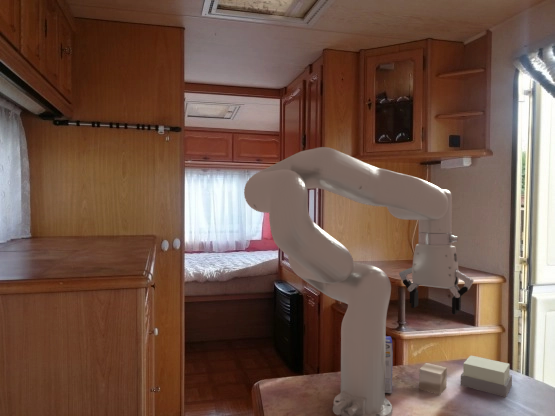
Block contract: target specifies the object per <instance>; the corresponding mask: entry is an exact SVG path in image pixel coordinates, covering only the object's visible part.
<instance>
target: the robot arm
mask: <svg viewBox="0 0 555 416" xmlns="http://www.w3.org/2000/svg"><path fill="white" fill-rule="evenodd" d="M308 189H309V190H310V189H319V190H323V191H326V192H330V193H332V194H334V195H338V196H339V197H340V196H341V197H343V198H344V199H347V200H350V201H353V202H356V203H359V204H361V205H368V206H373V207H384V208H387V211H388V212H389V214H390V215H392V216H393V217H394V218H396V219H400V220H405V221H406V220H407V221H409V220H410V221H418V243H417V244H415V248H414V253H413V258H412V266H411V267H409V268H407V269H404V270H402V271H400V272H399V273H398V274H399V277H400V279H401V281H402V284H403V285H404V286H405V287H406V289H407V291H408V292H409V304H410V305H411V306H410V307H411V308H412V309H415V308H417V307H419V290H418V287H419V286H422V287H433V288H439V289H446V290H447V289H449V291H450V292H451V293H452V294H453V296H452V297H451V314H452V315H457V314H458V313H459V311H461V309H462V307H461V306H462V303H461V302H462V296H463V295H464V294H466V293H467V292H468V291H469V290H470V289H471V287H472V285H473V283H474V279H473V278H471V277H470V276H468V275H466V274H465V273H463V272H461V271H459V263H458V254H457V249H456V246H455V245H453V243H455V242H456V243H458V242H459V237H458V236H456V235H453V232H452V224H453V223H452V220H453V218H452V217H453V216H452V215H453V214H452V213H453V212H452V211H453V202H452V201H453V199H452V197H453V195H452V192H451V191H450V190H449V189H443V188H441V187H439V186H437V185H435V184H433V183H431V182H428V181H427V180H424V179H422V178H419V177H416V176H413V175H410V174H409V175H408V174H405V173H400V172H396V171H392V170H389V169H386V168H380V167H377V166H374V165H372V164H369V163H367V162H364V161H362V160H360V159H358V158H356V157H353V156H351V155H349V154H347V153H343V152H341V151H339V150H338V149H335V148H331V147H328V146H327V147H325V146H321V147H320V146H319V147H314V148H312V149H311V148H310V149H307V150H302V151H299V152H296V153H295V154H293V155H290V156H288V157H287V158H285V159H283V160H281V161H278V162H276V163H275V164H273V165H271V166H269V167H266V168H264V169H262V170H259V171H258V172H256V173H254V174H253V175H252V176H250V178H248V180H247V181H246V183H245V186H244V189H243V190H244V192H243V193H244V194H243V196H244V199H245V202H246V203H247V205H248V206H249V207H250V208H251V209H253V211H256V212H258V213H264V214H265V213H266V214H267V213H268V214H269V215H268V216H269V217H268V219H269V227H270V229H269V230H270V233H271V236H272V239H273V240H272V241H274V244H275V245H276V246H277V247H278V249H279V250H280V251H282V252H283V253H284V254H285V255H287V256H288V258H287V260H288V263H289V266H290V269H291V270H292V272H294V274H295V275H296V276H298V277H299V278H301V280H303V281H305V282H306V283H308V284H309V285H311V286H312V287H313V288H315V289H316V290H318V291H319V292H321V293H322V294H324V295H325V296H327V297H329V298H331V299H333V300H335V301H338V302H341V303H344V304H347V309H346V311H345V314H344V316H343V318H342V321H341V329H340V338H341V339H340V340H341V341H340V393H338V394H337V395H336V396H335V397H334V399H333V406H332V412H333V413H334V415H336V416H392V414H393V405H392V402H390V400H389V399H388V398H386V393H385V351H386V336H387V335H386V331H387V328H386V327H387V315H388V314H387V313H388V309H389V304H390V299H391V292H392V283H391V281H390V280H391V279H390V278H389V276H388V275H387V273H386V272H385V271H384V270H382V269H381V268H379V267H377V266H374V265H372V264H366V263H362V262H357V261H356V262H355V261H354V258H353V256H352V254H351V252H350V251H349V249H348V248H347V247H346V246H345V245H344V244H342V242H340V241H339V240H337V239H336V238H335V237H333V236H331V234H329V233H328V232H327V231H325V230H324V229H322V228H321V227H320V226H319V225H318V224H317V223H316V222H314V220H313V219H312V218H311V215H310V213H309V204H308V203H309V191H308ZM409 274H411V280H412V281H411V280H410V279H409V278H408V275H409ZM459 280H461V281H463V282H464V284H463V286H462V287H461V288H460V287H459V286H458V285H459V283H460V282H459Z"/></svg>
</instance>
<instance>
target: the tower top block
mask: <svg viewBox="0 0 555 416" xmlns="http://www.w3.org/2000/svg"><path fill="white" fill-rule="evenodd" d="M510 365H511V364H510V363H508V362H502V361H498V360H493V359H489V358H485V357H480V356H476V355H469V356H468V357H467V359H465V361H464V362H463V365H462V366H463V368H462V370H463V372H462V373H463V375H464V376H468V377H472V378H476V379H480V380H484V381H488V382H492V383H496V384H500V385H505V383H506V381H507V379H508V378H509V375H510Z"/></svg>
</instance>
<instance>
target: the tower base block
mask: <svg viewBox="0 0 555 416" xmlns="http://www.w3.org/2000/svg"><path fill="white" fill-rule="evenodd" d="M460 386H461V387H466V388H470V389H474V390H478V391H481V392H486V393H488V394H493V395H497V396H501V397H504V398H507V397H508V395H509V393H510V391H511V390H510V389H511V388H512V386H513V375H512V374H509V378H508V379H507V381H506V383H505V385H500V384H496V383H492V382H488V381H484V380H480V379H476V378H472V377H468V376H464V375H463V372H462V373H461V374H460Z"/></svg>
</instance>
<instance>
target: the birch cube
mask: <svg viewBox="0 0 555 416" xmlns="http://www.w3.org/2000/svg"><path fill="white" fill-rule="evenodd" d="M447 369H448V367H447V366H446V367H445V366H441V365H437V364H433V363H429V362H428V363H427V362H425V363H424V364H423V365H422V366H421V367H420V368H419V369H418V370H419V371H418V372H419V374H418V375H419V378H418V380H419V381H418V382H419V384H418V389H419V390H421V391H423V392H428V393H432V394H435V395H437V396H438V395H439V396H441V395H442V394H443V393H444V392H445V390H446V389H447V382H448V381H447V379H448V378H447V374H448V372H447V371H448V370H447Z"/></svg>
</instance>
